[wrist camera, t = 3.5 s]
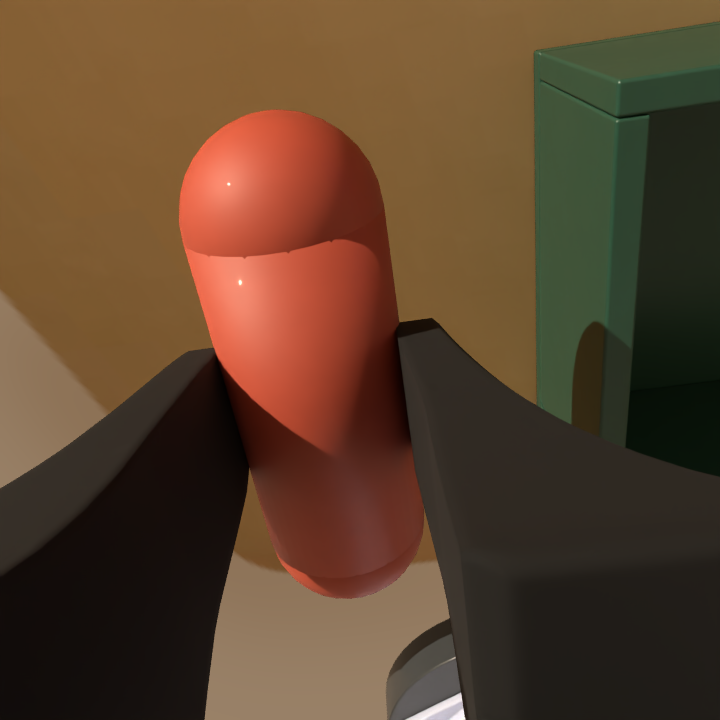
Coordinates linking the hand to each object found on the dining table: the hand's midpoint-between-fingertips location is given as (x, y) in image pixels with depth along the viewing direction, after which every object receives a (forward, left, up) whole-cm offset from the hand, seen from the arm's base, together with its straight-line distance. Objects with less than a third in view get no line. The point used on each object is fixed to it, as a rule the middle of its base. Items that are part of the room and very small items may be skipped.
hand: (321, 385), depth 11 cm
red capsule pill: (0, 0, -2) cm, 2 cm away
